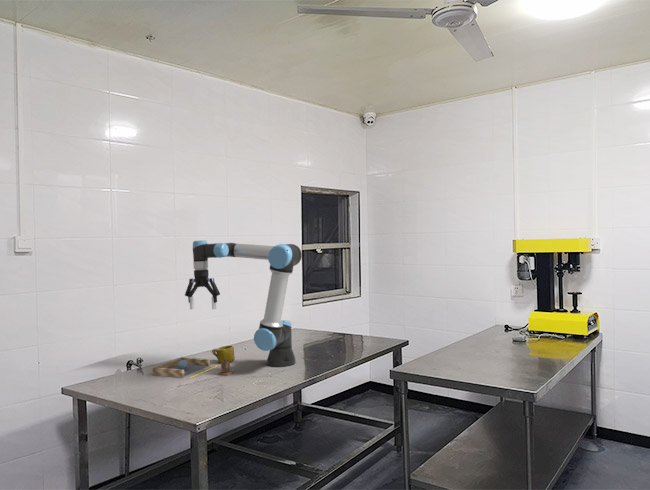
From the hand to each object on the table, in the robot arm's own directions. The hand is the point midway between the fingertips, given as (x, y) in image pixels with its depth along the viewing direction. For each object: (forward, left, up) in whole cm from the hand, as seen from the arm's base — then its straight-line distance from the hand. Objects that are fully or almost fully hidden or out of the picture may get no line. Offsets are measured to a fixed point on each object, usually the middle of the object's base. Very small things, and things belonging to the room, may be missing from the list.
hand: (203, 309), depth 263 cm
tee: (-21, +12, -30) cm, 38 cm away
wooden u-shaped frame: (+5, +12, -30) cm, 33 cm away
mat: (+5, +12, -30) cm, 33 cm away
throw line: (-8, +12, -30) cm, 33 cm away
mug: (-6, -9, -30) cm, 32 cm away
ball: (+5, +12, -27) cm, 30 cm away
